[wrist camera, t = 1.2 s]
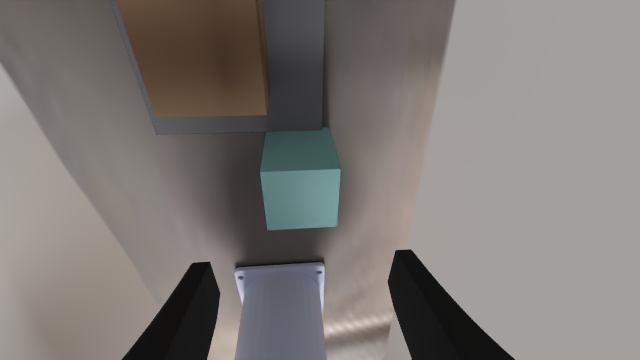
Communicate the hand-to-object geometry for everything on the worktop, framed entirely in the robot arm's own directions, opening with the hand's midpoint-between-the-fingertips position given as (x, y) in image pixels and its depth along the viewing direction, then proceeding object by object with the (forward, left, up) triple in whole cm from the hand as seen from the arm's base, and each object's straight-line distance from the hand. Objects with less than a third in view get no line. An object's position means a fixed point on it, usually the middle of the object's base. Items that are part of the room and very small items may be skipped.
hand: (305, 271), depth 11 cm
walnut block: (+7, +4, -9) cm, 12 cm away
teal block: (0, 0, -10) cm, 10 cm away
